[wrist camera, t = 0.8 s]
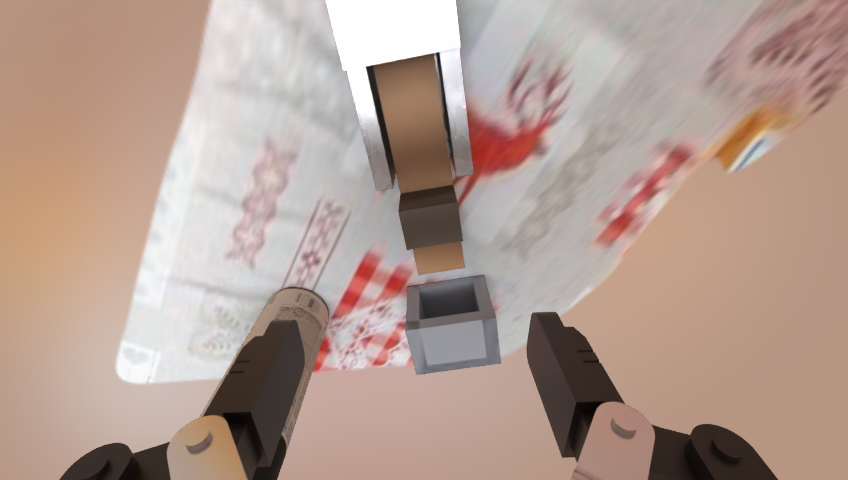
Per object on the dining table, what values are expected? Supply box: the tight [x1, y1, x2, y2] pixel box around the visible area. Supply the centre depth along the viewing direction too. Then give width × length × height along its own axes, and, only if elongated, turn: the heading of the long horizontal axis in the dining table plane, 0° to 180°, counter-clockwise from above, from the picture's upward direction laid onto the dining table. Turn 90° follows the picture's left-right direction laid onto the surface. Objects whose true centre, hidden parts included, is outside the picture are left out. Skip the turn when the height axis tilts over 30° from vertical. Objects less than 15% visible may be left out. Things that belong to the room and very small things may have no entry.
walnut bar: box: [373, 53, 465, 275], centre depth 27 cm, size 20×4×8 cm, turn 10°
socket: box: [405, 275, 501, 375], centre depth 36 cm, size 8×6×7 cm
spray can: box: [199, 288, 329, 480], centre depth 30 cm, size 7×7×20 cm
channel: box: [326, 0, 474, 191], centre depth 26 cm, size 12×7×8 cm, turn 10°
